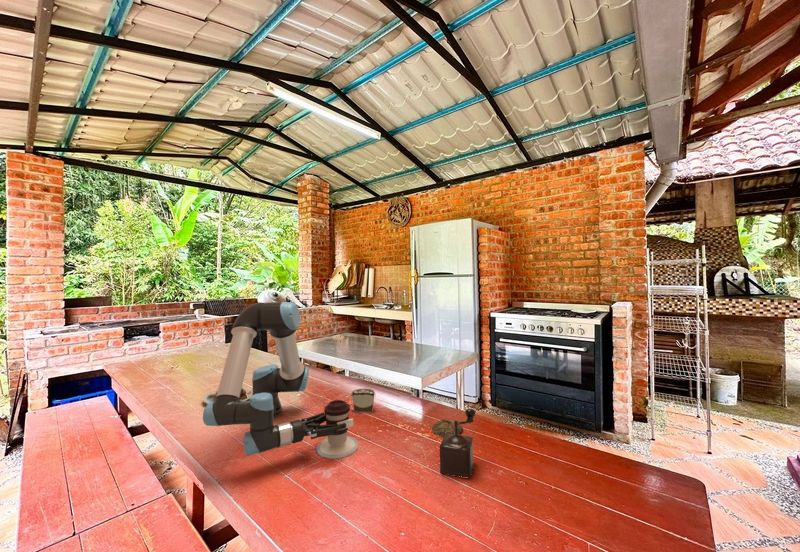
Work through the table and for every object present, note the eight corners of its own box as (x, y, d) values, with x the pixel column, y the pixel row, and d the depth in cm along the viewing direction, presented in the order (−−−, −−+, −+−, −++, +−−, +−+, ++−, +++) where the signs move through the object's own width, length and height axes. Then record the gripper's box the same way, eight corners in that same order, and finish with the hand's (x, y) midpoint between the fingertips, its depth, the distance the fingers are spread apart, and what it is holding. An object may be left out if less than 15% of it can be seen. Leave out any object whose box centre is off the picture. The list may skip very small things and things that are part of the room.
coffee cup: (355, 437, 130) (354, 400, 130) (340, 449, 121) (340, 409, 121) (334, 433, 134) (334, 397, 134) (319, 444, 125) (318, 405, 125)
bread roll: (466, 431, 140) (466, 419, 140) (450, 442, 131) (450, 429, 131) (443, 422, 149) (442, 411, 149) (425, 431, 140) (425, 420, 140)
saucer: (311, 444, 130) (311, 442, 130) (348, 433, 139) (348, 431, 139) (324, 463, 117) (324, 461, 117) (364, 450, 125) (364, 448, 125)
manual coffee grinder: (472, 480, 106) (471, 425, 106) (439, 474, 110) (438, 420, 110) (477, 455, 121) (476, 407, 121) (447, 450, 124) (447, 403, 124)
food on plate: (244, 388, 198) (244, 378, 198) (261, 399, 181) (261, 387, 181) (197, 400, 180) (197, 388, 180) (210, 413, 163) (210, 400, 163)
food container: (377, 407, 166) (377, 388, 166) (375, 412, 160) (375, 392, 160) (354, 407, 167) (353, 387, 167) (351, 412, 161) (350, 391, 161)
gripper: (283, 431, 127) (338, 417, 139) (298, 456, 109) (359, 438, 121) (283, 412, 127) (338, 400, 139) (298, 434, 109) (359, 418, 121)
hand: (348, 417), depth 130 cm, fingers closed on coffee cup, 9 cm apart
